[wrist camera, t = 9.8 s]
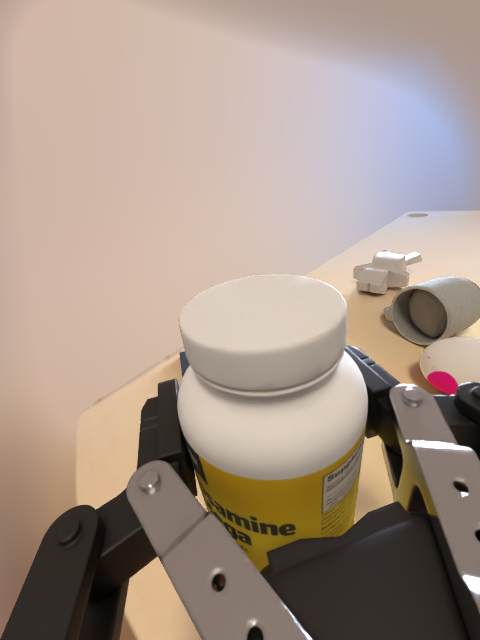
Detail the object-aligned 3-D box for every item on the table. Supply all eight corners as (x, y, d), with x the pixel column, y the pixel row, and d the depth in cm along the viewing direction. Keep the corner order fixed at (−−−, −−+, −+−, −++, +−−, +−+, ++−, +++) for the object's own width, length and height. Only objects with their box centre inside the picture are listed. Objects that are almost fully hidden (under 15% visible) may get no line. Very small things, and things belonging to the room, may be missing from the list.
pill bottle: (189, 524, 13) (107, 320, 8) (269, 436, 17) (248, 258, 12) (303, 657, 9) (285, 423, 4) (375, 504, 13) (414, 280, 8)
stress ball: (411, 412, 31) (410, 397, 26) (424, 347, 33) (425, 321, 28) (503, 439, 27) (524, 427, 22) (510, 361, 29) (530, 334, 24)
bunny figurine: (342, 271, 51) (378, 240, 58) (342, 295, 53) (377, 263, 61) (398, 279, 44) (430, 243, 52) (395, 307, 47) (426, 268, 55)
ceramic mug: (482, 333, 36) (499, 276, 33) (442, 356, 33) (455, 297, 30) (405, 307, 45) (412, 260, 41) (368, 324, 42) (372, 275, 39)
